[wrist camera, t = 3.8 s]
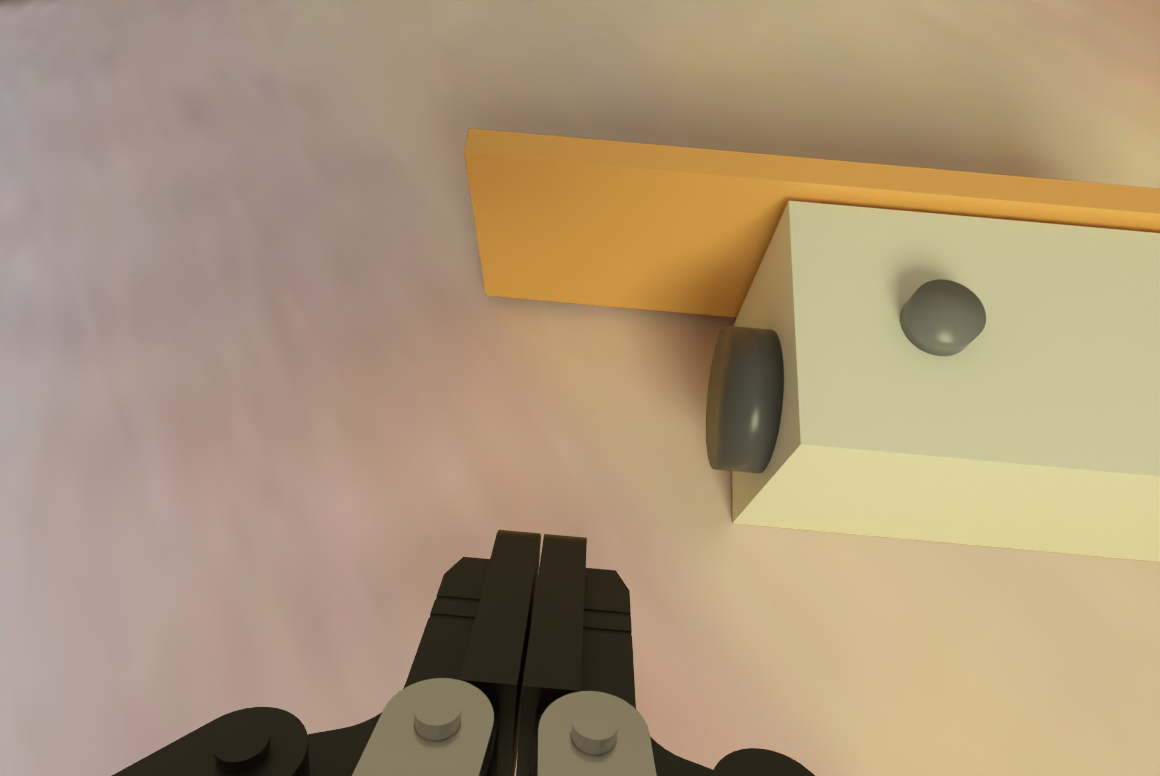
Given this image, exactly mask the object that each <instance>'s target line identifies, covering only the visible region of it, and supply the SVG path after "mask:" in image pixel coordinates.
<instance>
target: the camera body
mask: <svg viewBox="0 0 1160 776" xmlns="http://www.w3.org/2000/svg"><path fill="white" fill-rule="evenodd" d="M706 444H707V454H708V459H709V463H710V465H711V467H712V468H713V469H716V470H727V471H732V523H735V524H746V525H758V526H769V527H780V528H791V529H802V530H813V531H824V532H835V533H846V534H857V535H868V536H879V537H890V538H901V539H913V540H924V541H935V542H946V543H957V544H968V545H979V546H990V547H1001V548H1012V549H1023V550H1034V551H1045V552H1056V553H1068V554H1079V555H1090V556H1101V557H1112V558H1123V559H1134V560H1145V561H1156V562H1160V233H1152V232H1140V231H1129V230H1118V229H1106V228H1095V227H1083V226H1072V225H1061V224H1049V223H1038V222H1027V221H1015V220H1004V219H992V218H981V217H970V216H958V215H947V214H935V213H924V212H913V211H901V210H890V209H878V208H867V207H856V206H844V205H833V204H821V203H810V202H799V201H788V204H787V206H786V208H785V210H784V213H783V215H782V217H781V219H780V222H779V224H778V226H777V228H776V231H775V233H774V235H773V237H772V240H771V242H770V244H769V246H768V249H767V251H766V253H765V255H764V258H763V260H762V262H761V264H760V267H759V269H758V271H757V273H756V276H755V278H754V280H753V282H752V285H751V287H750V289H749V291H748V294H747V296H746V298H745V300H744V303H743V305H742V307H741V309H740V312H739V314H738V316H737V318H736V321H735V323H734V325H733V326H725V327H724V328H723V329H722V331H721V333H720V335H719V338H718V341H717V344H716V347H715V351H714V356H713V360H712V365H711V371H710V378H709V386H708V395H707V408H706Z"/></svg>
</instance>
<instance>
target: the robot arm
mask: <svg viewBox="0 0 1160 776" xmlns="http://www.w3.org/2000/svg"><path fill="white" fill-rule="evenodd" d="M586 543H587V538H583V537H572V536H560V535H549V534H544V540H543V547H542V553H541V560H540V567H539V558H540V544H541V534H539V533H528V532H517V531H505V530H498V532H497V535H496V539H495V543H494V547H493V551H492V555H491V559H481V558H469V557H463V558H462V559H461V560H459V561H458V562H457V563H456V564H455V565H454V566H453V567H452V568H451V569H449V570H448V571H447V572H446V573H445V574H444V576H443V579H442V582H441V585H440V588H439V591H438V593H437V598H436V600H435V602H434V605H433V608H432V610H431V614H430V618H429V619H428V622H427V625H426V627H425V630H424V633H423V636H422V639H421V641H420V644H419V647H418V650H417V653H416V656H415V658H414V661H413V664H412V667H411V670H410V673H409V675H408V678H407V681H406V684H405V686H404V688H403V690H401V691H399V692H398V693H397V694H396V695H395V696H393V697H392V699H391V700H390V701H389V702H388V703H387V705H386V707H385V708H384V710H383V712H382V713H380V714H379V715H377V716H375V717H374V718H372V719H370V720H367V721H365V722H363V723H360V724H357V725H354V726H351V727H346V728H342V729H336V730H331V731H325V732H319V733H314V734H308V735H307V732H306V729H305V727H304V725H303V724H302V722H301V721H300V720H299V719H298V718H297V717H295V716H294V715H293V714H291V713H289V712H287V711H284V710H281V709H278V708H271V707H254V708H246V709H242V710H238V711H234V712H231V713H229V714H226V715H223V716H221V717H219V718H217V719H215V720H213V721H211V722H209V723H208V724H206V725H204V726H202V727H200V728H198V729H197V730H195V731H193V732H191V733H189V734H187V735H186V736H184V737H182V738H180V739H178V740H176V741H175V742H173V743H171V744H169V745H167V746H165V747H164V748H162V749H160V750H158V751H156V752H154V753H153V754H151V755H149V756H147V757H145V758H143V759H142V760H140V761H138V762H136V763H134V764H132V765H131V766H129V767H127V768H125V769H123V770H121V771H120V772H118V773H116V774H114V775H112V776H514V774H515V767H516V760H517V770H516V776H815V775H814V774H813V773H811V772H810V771H809V770H808V769H806V768H805V767H804V766H803V765H801V764H800V763H798V762H796V761H795V760H793V759H791V758H789V757H787V756H785V755H783V754H780V753H777V752H774V751H771V750H765V749H756V748H750V749H741V750H738V751H734V752H732V753H730V754H728V755H726V756H725V757H724V758H722V759H721V760H720V761H719V762H718V764H717V765H716V766H715V768H714V770H712V769H710V768H707V767H704V766H702V765H699V764H696V763H694V762H691V761H688V760H686V759H683V758H681V757H679V756H676V755H674V754H673V753H671V752H669V751H667V750H666V749H664V748H663V747H662V746H660V745H659V744H658V743H656V742H655V741H654V740H653V739H652V738H651V737H650V733H649V730H648V726H647V724H646V722H645V720H644V718H643V717H642V716H641V714H640V713H639V712H638V711H637V710H636V703H635V685H634V667H633V649H632V636H631V617H630V613H631V612H630V594H629V590H628V588H627V587H626V585H625V584H624V582H623V581H622V579H621V578H620V576H619V575H618V573H617V572H616V571H615V570H603V569H592V568H586ZM538 572H539V574H538ZM517 753H518V756H517Z"/></svg>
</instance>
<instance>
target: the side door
mask: <svg viewBox="0 0 1160 776" xmlns="http://www.w3.org/2000/svg"><path fill="white" fill-rule="evenodd" d="M464 156H465V162H466V169H467V175H468V182H469V188H470V195H471V201H472V208H473V214H474V220H475V227H476V233H477V240H478V246H479V253H480V259H481V266H482V272H483V278H484V285H485V291H486V295H488V296H499V297H510V298H521V299H533V300H544V301H555V302H567V303H578V304H589V305H600V306H612V307H623V308H634V309H645V310H657V311H668V312H679V313H691V314H702V315H713V316H724V317H736V318H737V316H738V314H739V312H740V309H741V307H742V305H743V303H744V300H745V298H746V296H747V294H748V291H749V289H750V287H751V285H752V282H753V280H754V278H755V276H756V273H757V271H758V269H759V267H760V264H761V262H762V260H763V258H764V255H765V253H766V251H767V249H768V246H769V244H770V242H771V240H772V237H773V235H774V233H775V231H776V228H777V226H778V224H779V222H780V219H781V217H782V215H783V213H784V210H785V208H786V206H787V204H788V201H799V202H810V203H821V204H833V205H844V206H856V207H867V208H878V209H890V210H901V211H913V212H924V213H935V214H947V215H958V216H970V217H981V218H992V219H1004V220H1015V221H1027V222H1038V223H1049V224H1061V225H1072V226H1083V227H1095V228H1106V229H1118V230H1129V231H1140V232H1152V233H1160V189H1158V188H1147V187H1135V186H1124V185H1112V184H1101V183H1090V182H1078V181H1067V180H1055V179H1044V178H1032V177H1021V176H1010V175H998V174H987V173H975V172H964V171H952V170H941V169H930V168H918V167H907V166H895V165H884V164H872V163H861V162H849V161H838V160H827V159H815V158H804V157H792V156H781V155H769V154H758V153H747V152H735V151H724V150H712V149H701V148H689V147H678V146H666V145H655V144H644V143H632V142H621V141H609V140H598V139H586V138H575V137H564V136H552V135H541V134H529V133H518V132H506V131H495V130H483V129H472V128H469V130H468V135H467V140H466V145H465V151H464Z"/></svg>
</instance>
